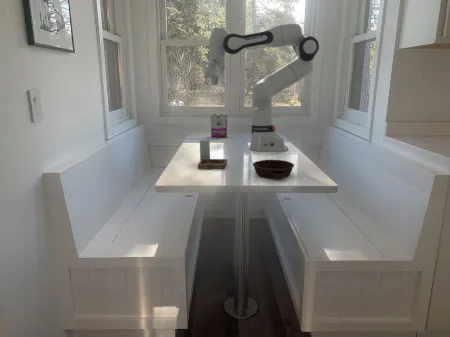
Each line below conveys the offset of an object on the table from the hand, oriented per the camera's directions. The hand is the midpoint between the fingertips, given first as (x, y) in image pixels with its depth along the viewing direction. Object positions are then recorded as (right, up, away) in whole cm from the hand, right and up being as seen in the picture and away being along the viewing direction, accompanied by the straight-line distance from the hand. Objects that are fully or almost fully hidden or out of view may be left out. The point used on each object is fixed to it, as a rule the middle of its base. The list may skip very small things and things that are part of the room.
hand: (214, 85), depth 200 cm
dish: (+26, -50, -47) cm, 73 cm away
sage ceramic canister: (-4, -43, -18) cm, 46 cm away
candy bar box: (+2, -24, +56) cm, 61 cm away
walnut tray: (0, -46, -31) cm, 55 cm away
